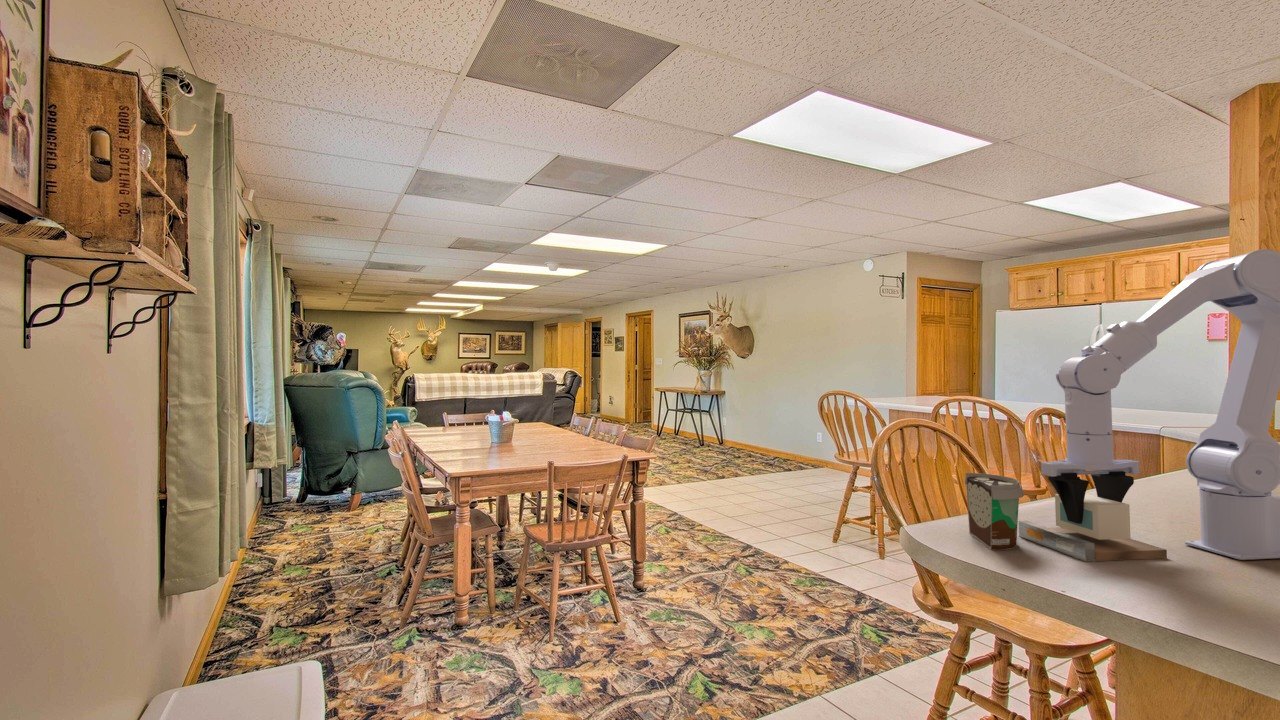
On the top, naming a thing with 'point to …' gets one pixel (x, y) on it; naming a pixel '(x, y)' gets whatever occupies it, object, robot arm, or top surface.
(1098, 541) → the shelf board
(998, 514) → the food container
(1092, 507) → the carton
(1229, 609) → the top surface
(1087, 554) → the price rail
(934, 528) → the top surface
